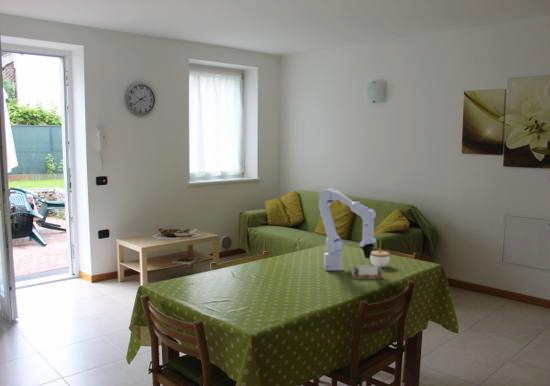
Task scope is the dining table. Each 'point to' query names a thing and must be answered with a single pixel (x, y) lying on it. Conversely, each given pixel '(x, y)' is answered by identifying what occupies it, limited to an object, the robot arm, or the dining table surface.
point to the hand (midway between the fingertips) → (367, 257)
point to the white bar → (368, 269)
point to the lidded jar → (379, 258)
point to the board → (364, 275)
